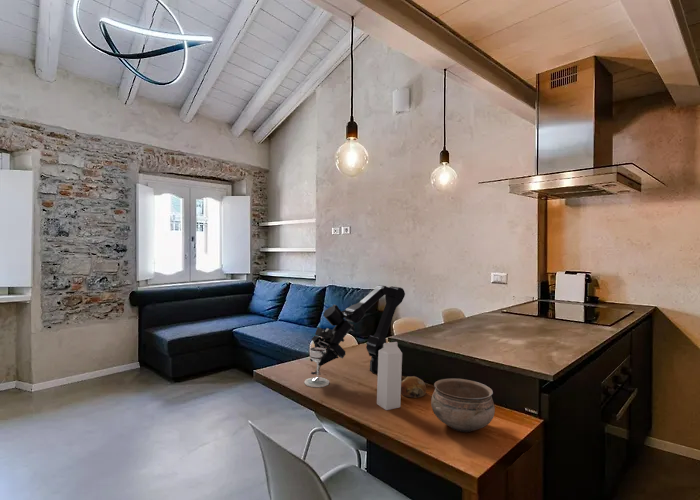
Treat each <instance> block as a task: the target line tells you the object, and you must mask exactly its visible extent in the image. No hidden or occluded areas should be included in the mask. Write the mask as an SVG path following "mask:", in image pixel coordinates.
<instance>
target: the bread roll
mask: <svg viewBox="0 0 700 500" xmlns="http://www.w3.org/2000/svg"><path fill="white" fill-rule="evenodd" d="M426 394H427V387H426V383H425V381H424V380H423V379H421V378H419V377H417V376H415V375H413V376H406V377H405V378H404V379H403V380H401V395H402V396H403V397H405V398H413V399H417V398H422V397H424V396H425V395H426Z"/></svg>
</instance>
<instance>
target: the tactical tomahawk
mask: <svg viewBox="0 0 700 500" xmlns="http://www.w3.org/2000/svg"><path fill="white" fill-rule="evenodd" d="M320 368H321V366H319V368H318V374H320V371H319V370H320ZM310 374H311V375H317V367H316V369H315V371H311V373H310Z"/></svg>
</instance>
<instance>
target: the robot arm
mask: <svg viewBox="0 0 700 500" xmlns="http://www.w3.org/2000/svg"><path fill="white" fill-rule="evenodd" d="M405 295H406V293H405V290H404V288H403V287H398V286H389V287H388V286H387V285H380V284H379V285H376V286H375V288H374V289H373V290H371V291H370V293H368V294H367V295H366V296H364V298H362V299H361V300H360V301H359V302H357V303H354V304H352V305H350V306H348V307H347V308H345V310H341V309H340V308H339V307H338V305H337V304H333V305H332V306H329V307H328V308H327V309H325V310H324V312H323V314H322V315H323V318H325V319H326V321H328V323H329V324H330V325H331V326H334V327H333V329H331V328H328V327H326V329H324V328H321V327H316V331H315V333H314V335H313V337H312V338H311V340H312V342H313V344H314V347H323V348H326V353H325V354H324V356H323V357H322V359H321V360H320V362H319V364H318V365H319V366H320V367H321V366H323V365H326V364H327V363H329V362H331V361H334V360H336V359H339V358H341V359H343V358H345V356H346V350H344V348H343V347H342V345H340V344H341V342H342V343H344V341H345V339H344V338H345V337H346V336H347V335H348V333H349V332H350V331H352V332H354V333H355V332H356V329H355V328H356V327H355V324H358V323H360V322H361V320H362V319H363V318H364V317H365V315H366V312H367V311H368V310H369V309H371V307H372V306H374V305H375V304H376V303H377V302H378V301H379V300H380V299H382V298H383V297H384V299H385V305H384V307H383V311H382V314H381V316H380V319H379V322H378V325H377V327H376V331H375V333H374V334H373V335H369V336H368V339H367V342H366V343H365V344H366V348H365V349H366V351H367V353H368V356H369V357H371V359H370V360H369V371H370V372H372V373H373V374H374V375H375V374H377V375H378V352H379V350H380V349H382V348H383V344H384V343H387V334H388V332H389V329H390V326H391V323H392V320H393V319H394V318H393V317H394V315H395V312H396V309H397V307H399V305H400V304H402V302H403V300H404V298H405ZM351 322H352V324H351ZM354 323H355V324H354ZM309 361H310V362H312V363H313V362H314V361H313V360H312V359H311V358H310V359H309Z"/></svg>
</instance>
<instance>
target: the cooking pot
mask: <svg viewBox="0 0 700 500" xmlns="http://www.w3.org/2000/svg"><path fill="white" fill-rule="evenodd" d="M433 387H434V391H433V393H432V396H431V400H430V406H431V408H432V411H433V414H434V415H435V416H436V418H437V419H438V420H439V421H440V422H442V423H443V424H445V425H446V426H448V427H449V428H451V430H454V431H456V432H459V431H460V433H471V432H472V431H476V430H477V431H478V430H480V429H482V428H485V427H486V426H488V425H489V424H490V423H491V422H492V420H493V419H494V416H495V412H496V411H495V410H496V409H495V403H494V400H493V396H492V395H493V394H494V392H493V389H492V388H490V386H487V385H486V384H483V383H481V382H478V381H475V380H470V379H466V378H465V379H464V378H441V379H438V380H437V381H435V382H434V383H433Z"/></svg>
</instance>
